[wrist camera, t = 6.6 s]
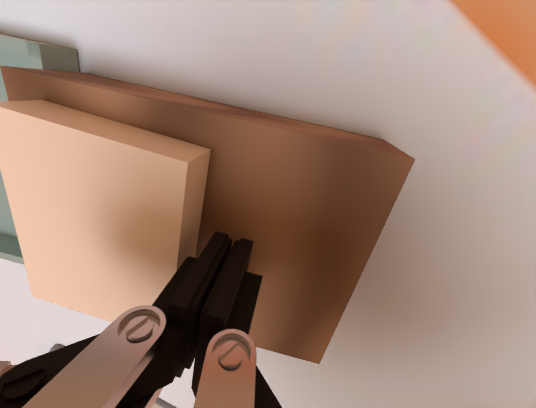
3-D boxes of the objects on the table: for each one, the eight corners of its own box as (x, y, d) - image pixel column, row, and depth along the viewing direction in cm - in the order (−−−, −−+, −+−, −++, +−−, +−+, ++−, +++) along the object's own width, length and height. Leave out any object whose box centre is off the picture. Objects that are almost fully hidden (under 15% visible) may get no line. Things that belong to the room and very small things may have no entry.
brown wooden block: (383, 139, 12) (414, 159, 9) (316, 307, 17) (319, 364, 14) (84, 73, 13) (-1, 65, 9) (105, 252, 18) (56, 291, 15)
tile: (210, 149, 10) (187, 162, 8) (187, 307, 13) (168, 340, 12) (43, 100, 10) (-17, 102, 8) (69, 269, 14) (32, 296, 12)
